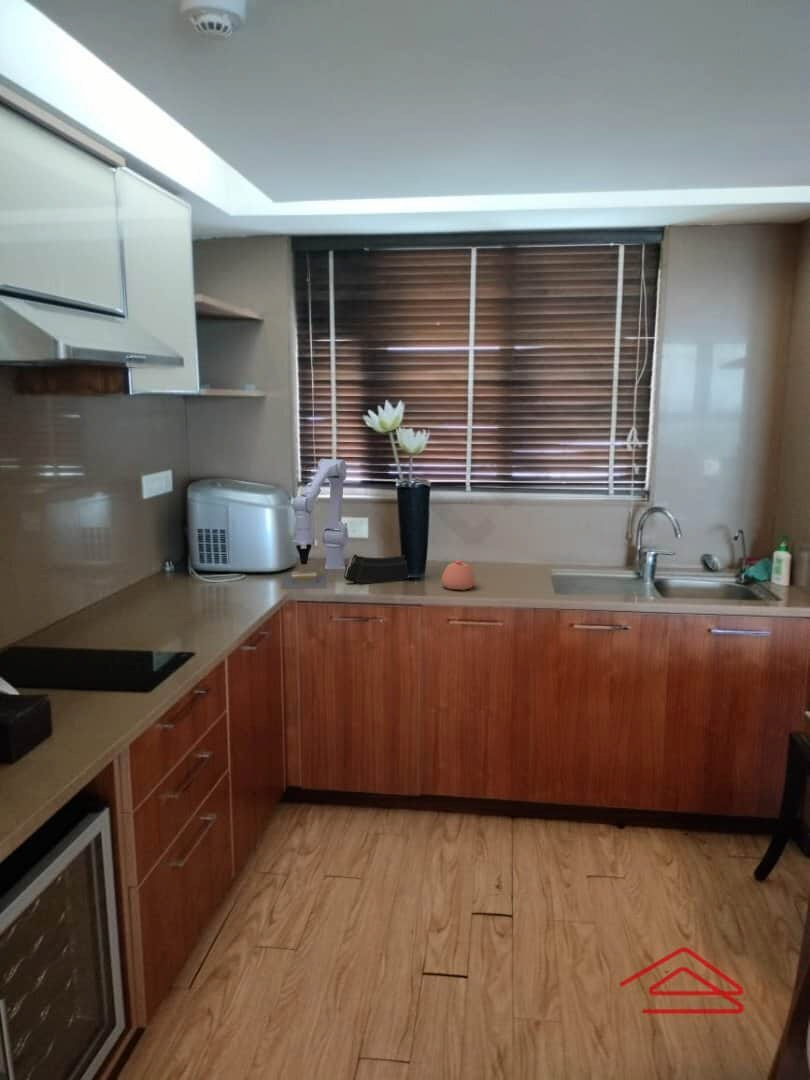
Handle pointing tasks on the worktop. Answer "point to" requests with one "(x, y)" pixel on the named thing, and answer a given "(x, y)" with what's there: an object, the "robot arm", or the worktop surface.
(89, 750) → the worktop surface
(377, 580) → the magazine
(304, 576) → the tile
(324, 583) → the mat
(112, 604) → the worktop surface
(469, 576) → the sugar bowl
